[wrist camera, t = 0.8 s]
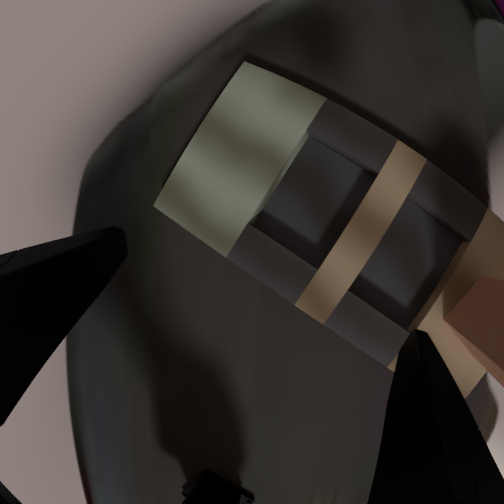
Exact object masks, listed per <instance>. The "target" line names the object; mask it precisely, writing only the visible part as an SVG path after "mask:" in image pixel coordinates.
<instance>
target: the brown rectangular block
mask: <svg viewBox="0 0 504 504" xmlns="http://www.w3.org/2000/svg"><path fill="white" fill-rule="evenodd" d="M443 320H444V321H445V322H446V324H447V325H448V326H449V327H450V329H451V330H452V331H453V332H454V334H455V335H456V336H457V337H458V339H459V340H460V341H461V342H462V344H463V345H464V346H465V347H466V349H467V350H468V351H469V353H470V354H471V355H472V356H473V358H475V359H476V360H477V361H478V362H479V363H480V364H481V365H482V366H483V367H484V368H485V369H486V370H487V371H488V372H489V373H490V374H491V375H492V376H493V377H494V378H495V379H496V380H497V381H498V382H499V383H500V384H501V385H502V386H503V387H504V281H503V280H500V279H496V278H492V277H489V276H485V275H481V277H480V278H479V279H478V280H477V281H476V283H475V284H474V285H473V286H472V287H471V289H470V290H469V291H468V292H467V293H466V294H465V296H464V297H463V298H462V299H461V300H460V301H459V302H458V304H457V305H456V306H455V307H454V308H453V309H452V310H451V311H450V312H449V313H448V314H447V316H446V317H445V318H444V319H443Z"/></svg>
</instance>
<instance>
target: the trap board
mask: <svg viewBox="0 0 504 504" xmlns="http://www.w3.org/2000/svg"><path fill="white" fill-rule="evenodd" d="M153 206H154V207H156V208H157V209H158V210H160V211H161V212H163V213H164V214H165V215H167V216H168V217H170V218H171V219H172V220H174V221H175V222H176V223H178V224H179V225H181V226H182V227H183V228H185V229H186V230H188V231H189V232H190V233H192V234H193V235H195V236H196V237H198V238H199V239H200V240H202V241H203V242H205V243H206V244H207V245H209V246H210V247H212V248H213V249H214V250H216V251H217V252H219V253H220V254H222V255H223V256H224V257H226V258H227V259H229V260H230V261H232V262H233V263H234V264H236V265H237V266H239V267H240V268H242V269H243V270H244V271H246V272H247V273H249V274H250V275H252V276H253V277H254V278H256V279H257V280H259V281H260V282H262V283H263V284H265V285H266V286H267V287H269V288H270V289H272V290H273V291H275V292H276V293H278V294H279V295H280V296H282V297H283V298H285V299H286V300H288V301H289V302H291V303H292V304H294V305H295V306H296V307H298V308H299V309H301V310H302V311H304V312H305V313H307V314H308V315H310V316H311V317H313V318H314V319H316V320H317V321H319V322H320V323H321V324H323V325H324V326H326V327H327V328H329V329H330V330H332V331H333V332H335V333H336V334H338V335H339V336H341V337H342V338H344V339H345V340H347V341H348V342H350V343H351V344H353V345H354V346H356V347H357V348H359V349H360V350H362V351H363V352H365V353H366V354H368V355H369V356H371V357H372V358H374V359H375V360H377V361H378V362H380V363H381V364H383V365H384V366H386V367H387V368H389V369H390V370H392V371H393V372H394V371H395V367H396V362H397V357H398V353H399V350H400V348H401V347H402V345H403V344H404V342H405V341H406V339H407V337H408V336H409V334H410V333H411V331H412V330H413V329H419V330H422V331H425V332H427V333H428V334H429V336H430V338H431V339H432V341H433V343H434V344H435V346H436V348H437V349H438V351H439V353H440V355H441V356H442V358H443V360H444V362H445V363H446V365H447V367H448V369H449V370H450V372H451V374H452V376H453V378H454V380H455V381H456V383H457V385H458V387H459V389H460V391H461V393H462V395H463V397H464V399H465V398H466V397H467V396H468V394H469V393H470V392H471V391H472V389H473V388H474V387H475V386H476V384H477V383H478V382H479V380H480V379H481V378H482V377H483V375H484V374H485V372H486V371H487V370H486V369H485V368H484V367H483V366H482V365H481V364H480V363H479V362H478V361H477V360H476V359H475V358H473V356H472V355H471V354H470V353H469V351H468V350H467V349H466V347H465V346H464V345H463V344H462V342H461V341H460V340H459V339H458V337H457V336H456V335H455V334H454V332H453V331H452V330H451V329H450V327H449V326H448V325H447V324H446V322H445V321H444V320H443V319H444V318H445V317H446V316H447V314H448V313H449V312H450V311H451V310H452V309H453V308H454V307H455V306H456V305H457V304H458V302H459V301H460V300H461V299H462V298H463V297H464V296H465V294H466V293H467V292H468V291H469V290H470V289H471V287H472V286H473V285H474V284H475V283H476V281H477V280H478V279H479V278H480V277H481V275H485V276H489V277H492V278H496V279H500V280H503V281H504V222H503V221H502V220H501V219H500V218H499V217H497V215H495V214H494V213H493V212H492V211H491V210H490V209H489V208H488V207H486V206H485V205H484V204H483V203H482V202H481V201H480V200H478V199H477V198H476V197H475V196H474V195H472V194H471V193H470V192H469V191H468V190H466V189H465V188H464V187H463V186H461V185H460V184H459V183H458V182H456V181H455V180H454V179H453V178H451V177H450V176H449V175H447V174H446V173H445V172H443V171H442V170H441V169H439V168H438V167H437V166H435V165H434V164H433V163H431V162H430V161H429V160H427V159H426V158H424V157H423V156H421V155H420V154H419V153H417V152H416V151H414V150H413V149H411V148H410V147H408V146H407V145H405V144H404V143H402V142H401V141H399V140H398V139H396V138H395V137H393V136H392V135H390V134H388V133H387V132H385V131H384V130H382V129H380V128H379V127H377V126H375V125H374V124H372V123H370V122H369V121H367V120H365V119H364V118H362V117H360V116H358V115H357V114H355V113H353V112H351V111H350V110H348V109H346V108H344V107H342V106H340V105H339V104H337V103H335V102H333V101H331V100H329V99H327V98H325V97H323V96H321V95H319V94H317V93H315V92H313V91H311V90H309V89H307V88H305V87H303V86H301V85H299V84H297V83H294V82H292V81H290V80H288V79H286V78H283V77H281V76H279V75H277V74H274V73H272V72H270V71H267V70H265V69H262V68H260V67H257V66H255V65H252V64H250V63H247V62H245V61H244V62H243V64H242V65H241V66H240V68H239V69H238V71H237V72H236V73H235V75H234V76H233V78H232V79H231V80H230V82H229V83H228V85H227V86H226V88H225V89H224V90H223V92H222V93H221V95H220V96H219V98H218V99H217V101H216V102H215V104H214V105H213V107H212V108H211V110H210V111H209V113H208V114H207V116H206V117H205V119H204V121H203V122H202V124H201V125H200V127H199V128H198V130H197V132H196V133H195V135H194V136H193V138H192V140H191V141H190V143H189V144H188V146H187V148H186V149H185V151H184V153H183V154H182V156H181V158H180V159H179V161H178V163H177V164H176V166H175V168H174V170H173V171H172V173H171V175H170V177H169V178H168V180H167V182H166V184H165V185H164V187H163V189H162V191H161V193H160V194H159V196H158V198H157V200H156V202H155V204H154V205H153Z"/></svg>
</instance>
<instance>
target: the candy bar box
mask: <svg viewBox="0 0 504 504" xmlns="http://www.w3.org/2000/svg"><path fill="white" fill-rule="evenodd" d="M492 1H493V2H494V4H495V5H496V6H497V8H498V10H499V11H500V13H501V14H502V16H503V17H504V0H492Z"/></svg>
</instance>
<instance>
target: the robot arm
mask: <svg viewBox="0 0 504 504" xmlns="http://www.w3.org/2000/svg"><path fill="white" fill-rule="evenodd" d="M127 252H128V250H127V240H126V233H125V231H124V230H123V229H121V228H118V227H115V226H113V227H108V228H104V229H100V230H95V231H91V232H87V233H82V234H78V235H74V236H70V237H66V238H62V239H58V240H54V241H51V242H47V243H43V244H39V245H35V246H31V247H27V248H24V249H20V250H19V251H18V250H16V251H12V252H9V253H5V254H2V255H0V426H2V425H3V424H4V423H5V421H6V419H7V417H8V416H9V415H10V413H11V412H12V410H13V409H14V407H15V406H16V404H17V403H18V401H19V400H20V398H21V397H22V395H23V394H24V392H25V391H26V390H27V388H28V387H29V385H30V384H31V381H33V379H34V378H35V376H36V375H37V374H38V372H39V371H40V370H41V368H42V367H43V366H44V364H45V363H46V361H47V360H48V359H49V357H50V356H51V355H52V353H53V352H54V351H55V350H56V348H57V347H58V346H59V344H60V343H61V342H62V340H63V339H64V338H65V337H66V335H67V334H68V333H69V331H70V330H71V329H72V328H73V326H74V325H75V324H76V323H77V321H78V320H79V319H80V318H81V316H82V315H83V314H84V313H85V312H86V310H87V309H88V308H89V307H90V305H91V304H92V303H93V302H94V301H95V299H96V298H97V297H98V296H99V295H100V293H101V292H102V291H103V289H104V288H105V287H106V285H107V284H108V282H109V281H110V279H111V278H112V277H113V275H114V274H115V272H116V271H117V270H118V268H119V267H120V265H121V264H122V263H123V261H124V260H125V258H126V256H127ZM478 429H479V427H478V425H477V423H476V421H475V419H474V417H473V415H472V413H471V411H470V408H469V406H468V405H467V403H466V401H465V399H464V397H463V395H462V393H461V391H460V389H459V387H458V385H457V383H456V381H455V380H454V378H453V376H452V374H451V372H450V370H449V369H448V367H447V365H446V363H445V362H444V360H443V358H442V356H441V355H440V353H439V351H438V349H437V348H436V346H435V344H434V343H433V341H432V339H431V338H430V336H429V334H428V333H427V332H425V331H422V330H419V329H413V330H412V331H411V333H410V334H409V336H408V337H407V339H406V341H405V342H404V344H403V345H402V347H401V348H400V350H399V353H398V357H397V362H396V367H395V371H394V376H393V380H392V385H391V389H390V393H389V398H388V402H387V408H386V415H385V421H384V428H383V434H382V440H381V445H380V450H379V456H378V460H377V465H376V470H375V474H374V479H373V483H372V487H371V491H370V495H369V499H368V503H367V504H504V479H503V477H502V475H501V473H500V471H499V469H498V467H497V465H496V463H495V461H494V459H493V457H492V455H491V453H490V450H489V449H488V446H487V444H486V442H485V440H484V438H483V435H482V433H481V431H480V430H478ZM206 474H207V475H206ZM182 495H183V496H184V497H186V498H185V500H184V501H183V503H182V504H253V502H254V498H253V497H251V496H249V495H248V494H246V493H244V492H242V491H241V490H239V489H237V488H235V487H234V486H232V485H230V484H229V483H227V482H225V481H224V480H222V479H221V478H219V477H217V476H216V475H214V474H213V473H211V472H210V471H207V470H205V471H203V472H202V473H201V474H200V475H199V476H198V477H197V478H196V479H195V480H194V481H193V482H192V483H191V484H190V485H189V486H188V487H186V488H185V489H184V490H183V492H182ZM0 504H22V503H21V502H20V501H19V500H18V499H17V498H16V497H15V496H14V495H13V494H12V493H11V492H10V491H9V490H8V489H7V488H6V487H5V486H4V485H3V484H2V483H1V481H0Z"/></svg>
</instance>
